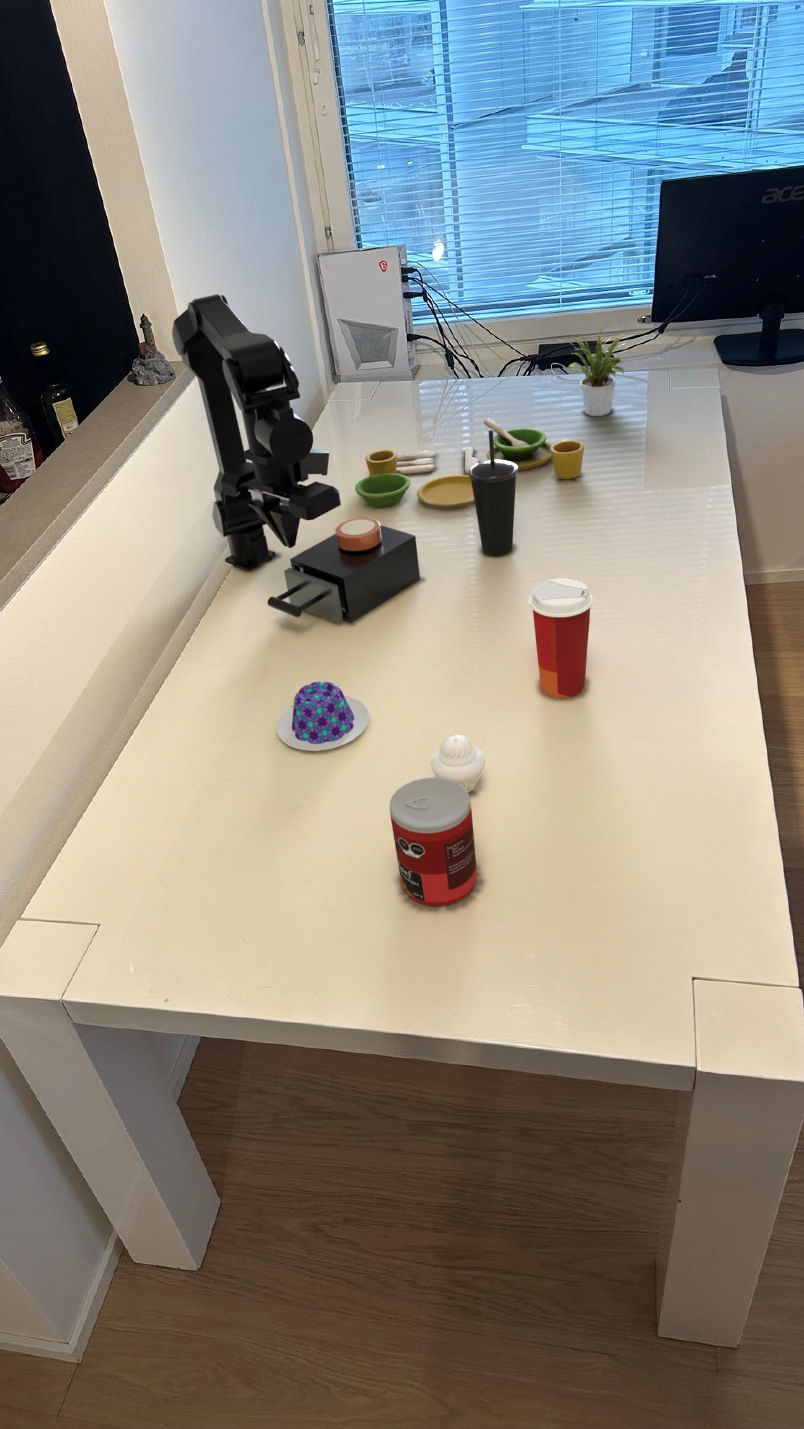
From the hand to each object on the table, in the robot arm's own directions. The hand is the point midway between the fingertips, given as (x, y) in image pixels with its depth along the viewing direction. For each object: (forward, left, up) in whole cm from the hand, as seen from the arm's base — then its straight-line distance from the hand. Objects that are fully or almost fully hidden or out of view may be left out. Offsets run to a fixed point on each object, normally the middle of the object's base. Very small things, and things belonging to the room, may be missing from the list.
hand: (289, 546), depth 143 cm
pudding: (+21, -16, -13) cm, 30 cm away
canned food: (+51, -28, -13) cm, 60 cm away
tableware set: (-12, +54, -13) cm, 57 cm away
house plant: (-11, +92, -13) cm, 93 cm away
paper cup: (+41, +8, -13) cm, 44 cm away
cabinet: (0, +12, -13) cm, 18 cm away
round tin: (0, +13, -5) cm, 14 cm away
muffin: (+43, -15, -13) cm, 47 cm away
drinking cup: (+10, +34, -13) cm, 38 cm away
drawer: (0, +6, -12) cm, 14 cm away
